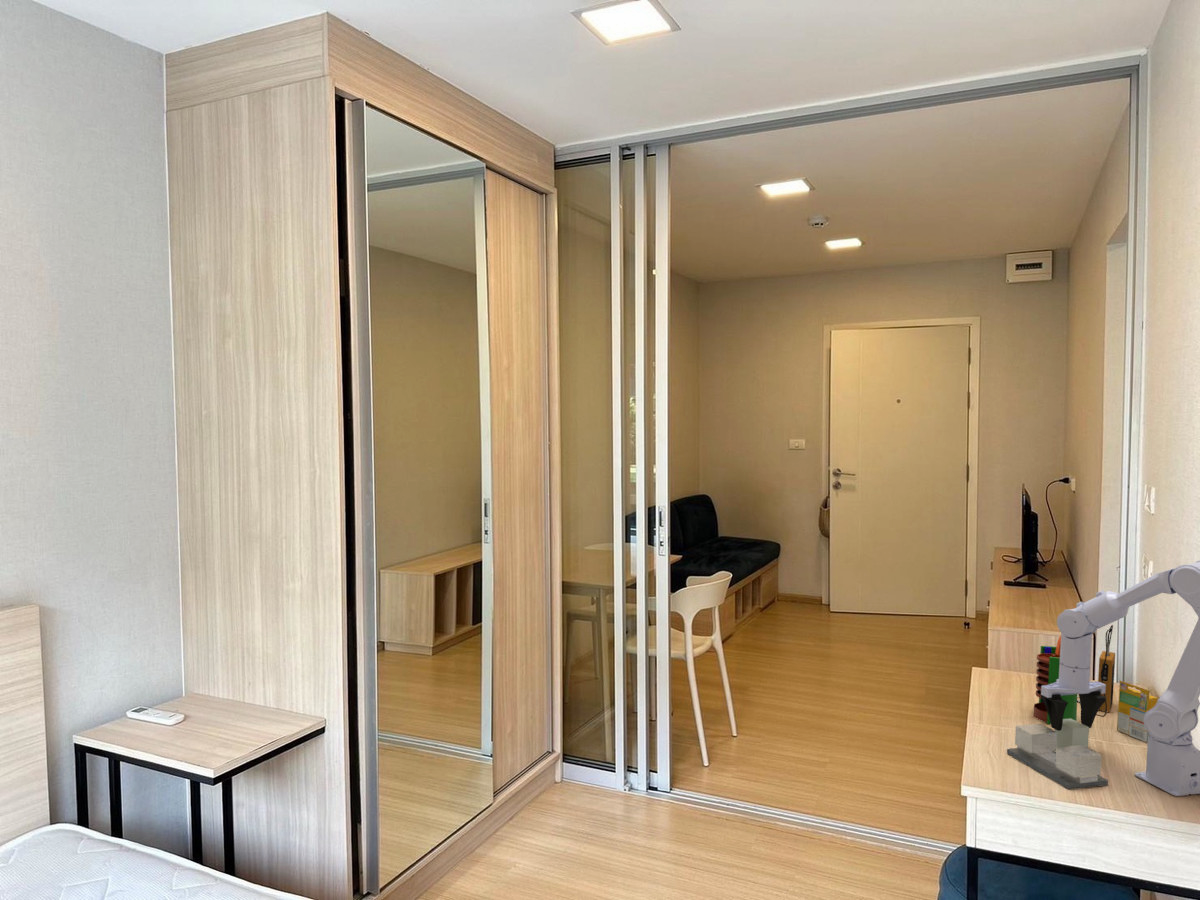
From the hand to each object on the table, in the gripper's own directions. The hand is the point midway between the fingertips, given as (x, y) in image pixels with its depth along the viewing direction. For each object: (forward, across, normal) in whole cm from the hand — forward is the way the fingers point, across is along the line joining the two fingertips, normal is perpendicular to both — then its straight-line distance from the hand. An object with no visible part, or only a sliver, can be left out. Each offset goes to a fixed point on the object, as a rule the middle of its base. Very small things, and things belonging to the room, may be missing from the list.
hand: (1071, 727), depth 183 cm
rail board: (+5, +10, +7) cm, 13 cm away
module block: (+5, 0, 0) cm, 5 cm away
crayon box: (+5, -21, -4) cm, 22 cm away
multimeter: (+5, -26, -23) cm, 35 cm away
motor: (+5, -11, -17) cm, 21 cm away
